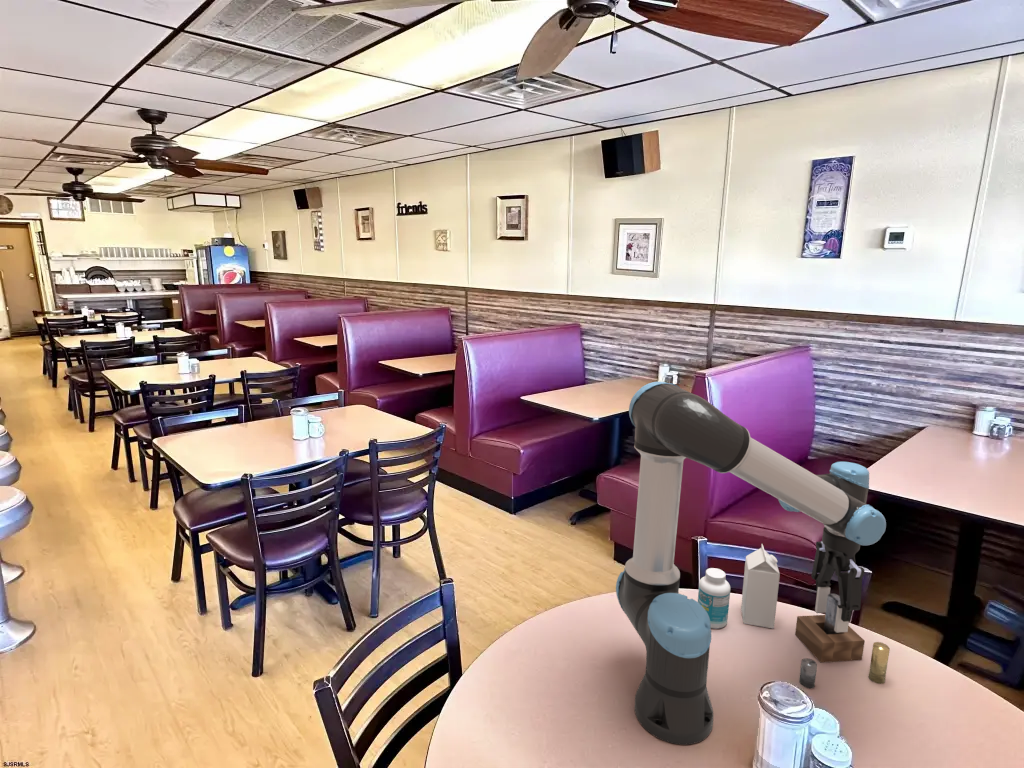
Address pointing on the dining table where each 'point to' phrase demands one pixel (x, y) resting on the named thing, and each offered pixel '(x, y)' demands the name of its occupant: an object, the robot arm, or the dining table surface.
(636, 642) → the dining table surface
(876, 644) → the medium brass pin
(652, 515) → the robot arm
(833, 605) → the long steel pin
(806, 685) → the short gunmetal pin
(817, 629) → the walnut hole block
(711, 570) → the pill bottle
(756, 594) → the milk carton
